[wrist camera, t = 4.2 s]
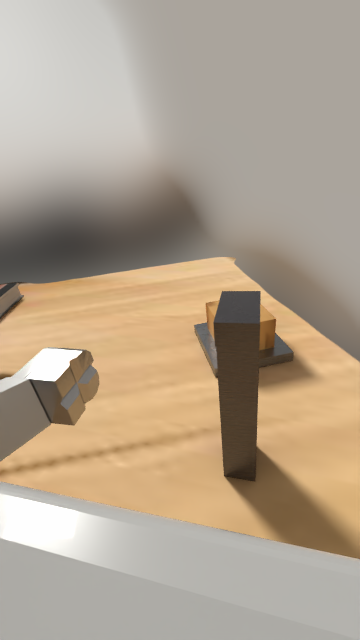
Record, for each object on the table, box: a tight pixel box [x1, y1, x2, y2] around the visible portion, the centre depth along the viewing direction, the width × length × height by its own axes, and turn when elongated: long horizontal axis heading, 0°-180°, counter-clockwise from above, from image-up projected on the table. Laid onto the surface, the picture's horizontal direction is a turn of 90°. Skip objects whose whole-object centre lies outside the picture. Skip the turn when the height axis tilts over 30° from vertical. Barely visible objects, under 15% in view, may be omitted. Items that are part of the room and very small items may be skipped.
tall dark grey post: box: [213, 291, 260, 481], centre depth 25 cm, size 5×3×18 cm, turn 166°
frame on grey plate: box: [194, 301, 293, 377], centre depth 45 cm, size 13×12×6 cm
